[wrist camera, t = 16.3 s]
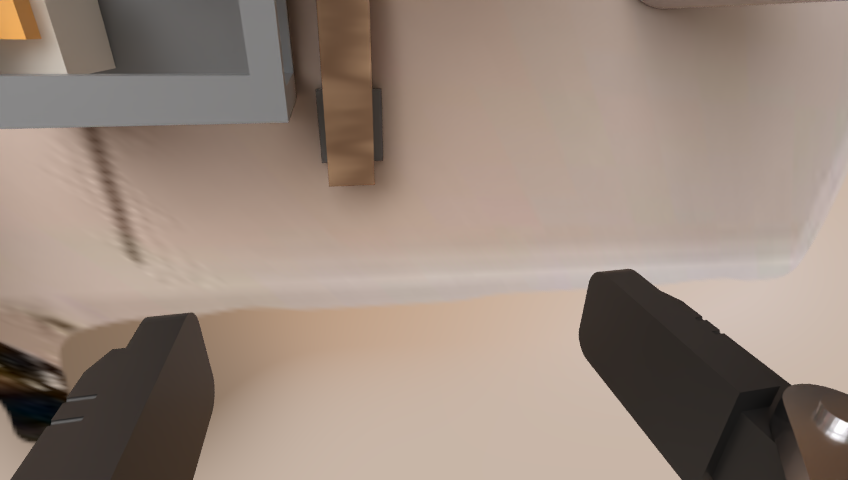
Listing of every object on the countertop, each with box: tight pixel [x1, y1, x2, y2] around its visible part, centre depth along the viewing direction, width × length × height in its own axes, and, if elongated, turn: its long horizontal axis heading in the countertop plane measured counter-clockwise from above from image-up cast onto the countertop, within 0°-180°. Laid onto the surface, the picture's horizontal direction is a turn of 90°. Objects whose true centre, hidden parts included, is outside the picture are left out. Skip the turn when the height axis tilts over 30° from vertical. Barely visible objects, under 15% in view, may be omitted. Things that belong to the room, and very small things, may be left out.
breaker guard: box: [0, 0, 297, 129], centre depth 22 cm, size 15×9×9 cm, turn 89°
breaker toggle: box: [0, 0, 116, 74], centre depth 21 cm, size 3×5×7 cm, turn 179°
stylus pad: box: [316, 89, 383, 163], centre depth 31 cm, size 4×5×1 cm
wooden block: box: [316, 0, 375, 187], centre depth 28 cm, size 3×3×14 cm
